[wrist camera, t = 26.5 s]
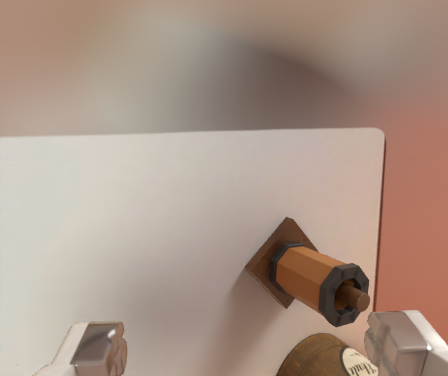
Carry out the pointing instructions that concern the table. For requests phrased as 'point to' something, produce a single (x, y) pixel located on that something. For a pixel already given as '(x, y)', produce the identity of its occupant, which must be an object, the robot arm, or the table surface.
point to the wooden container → (326, 359)
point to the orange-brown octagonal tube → (316, 280)
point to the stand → (293, 233)
